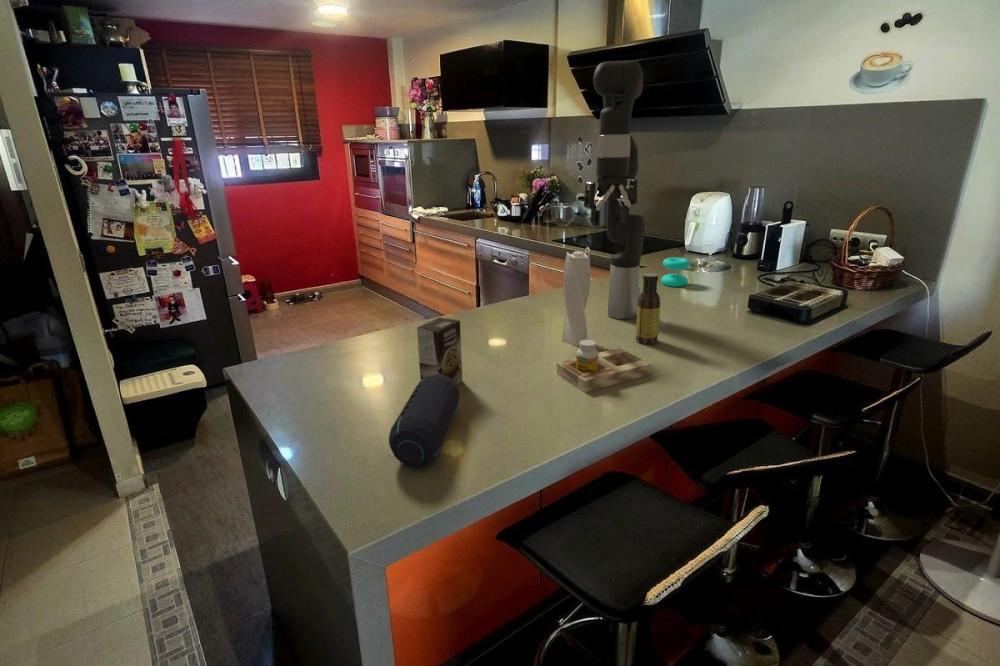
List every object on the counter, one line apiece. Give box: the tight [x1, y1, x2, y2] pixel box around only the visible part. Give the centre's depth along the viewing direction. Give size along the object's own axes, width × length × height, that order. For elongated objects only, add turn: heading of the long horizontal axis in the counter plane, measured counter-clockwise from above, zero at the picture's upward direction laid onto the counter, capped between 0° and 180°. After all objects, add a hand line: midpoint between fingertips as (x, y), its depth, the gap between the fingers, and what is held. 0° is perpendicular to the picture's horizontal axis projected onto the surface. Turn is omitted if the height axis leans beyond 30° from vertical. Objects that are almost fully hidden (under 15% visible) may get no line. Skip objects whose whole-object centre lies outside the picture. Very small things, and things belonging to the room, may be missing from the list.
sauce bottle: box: [635, 272, 661, 345], centre depth 152 cm, size 6×6×20 cm
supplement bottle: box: [575, 339, 599, 374], centre depth 131 cm, size 5×5×10 cm
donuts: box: [660, 257, 691, 288], centre depth 211 cm, size 10×10×10 cm
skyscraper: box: [561, 246, 591, 347], centre depth 151 cm, size 8×8×28 cm
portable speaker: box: [388, 374, 461, 469], centre depth 106 cm, size 25×10×10 cm, turn 173°
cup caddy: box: [556, 347, 651, 393], centre depth 134 cm, size 20×12×3 cm, turn 117°
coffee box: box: [416, 317, 464, 385], centre depth 127 cm, size 9×6×16 cm
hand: (609, 224), depth 131 cm, fingers open, 8 cm apart
